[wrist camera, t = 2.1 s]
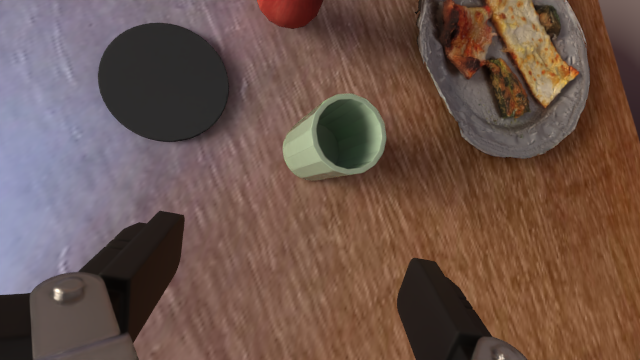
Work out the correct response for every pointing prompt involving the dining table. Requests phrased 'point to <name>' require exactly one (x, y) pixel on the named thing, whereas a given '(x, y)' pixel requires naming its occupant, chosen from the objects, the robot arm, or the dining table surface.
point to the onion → (290, 11)
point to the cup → (336, 139)
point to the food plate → (507, 70)
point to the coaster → (163, 82)
